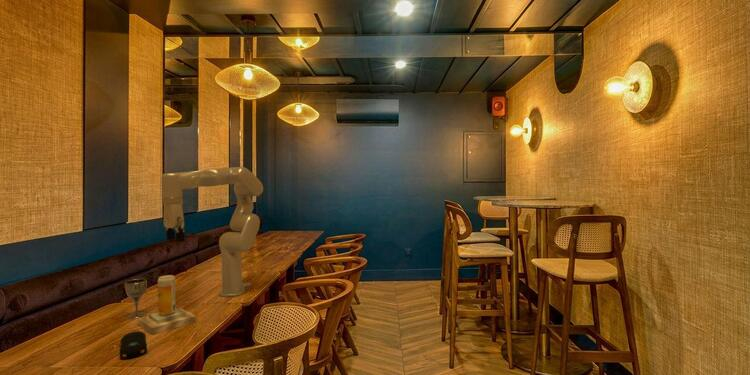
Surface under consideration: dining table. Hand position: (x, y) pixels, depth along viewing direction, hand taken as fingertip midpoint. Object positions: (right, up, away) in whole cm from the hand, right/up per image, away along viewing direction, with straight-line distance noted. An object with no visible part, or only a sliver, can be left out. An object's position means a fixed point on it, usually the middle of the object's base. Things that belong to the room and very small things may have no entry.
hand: (175, 240), depth 158 cm
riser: (+3, -32, -11) cm, 34 cm away
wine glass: (-16, -33, -1) cm, 37 cm away
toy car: (+4, -33, -34) cm, 47 cm away
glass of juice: (+3, -28, -11) cm, 30 cm away
